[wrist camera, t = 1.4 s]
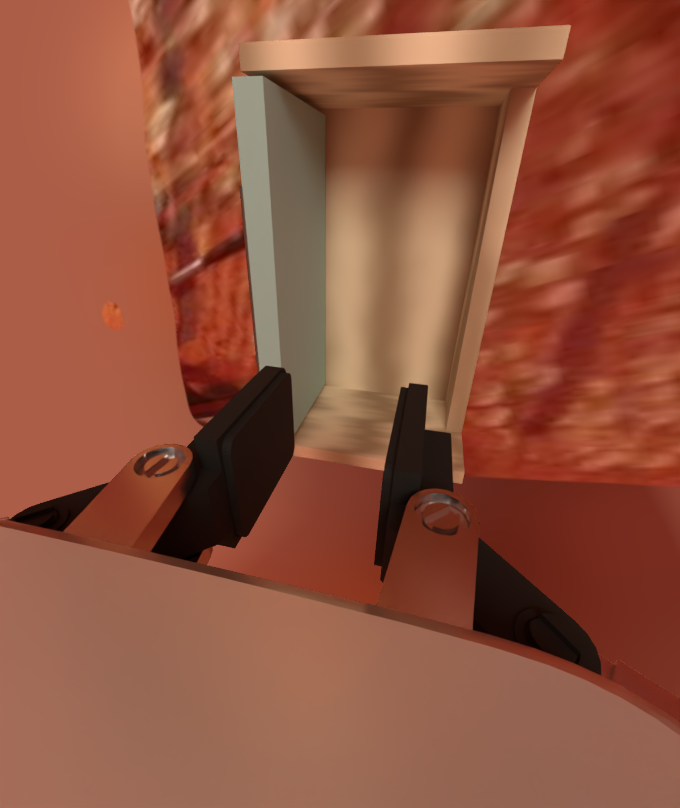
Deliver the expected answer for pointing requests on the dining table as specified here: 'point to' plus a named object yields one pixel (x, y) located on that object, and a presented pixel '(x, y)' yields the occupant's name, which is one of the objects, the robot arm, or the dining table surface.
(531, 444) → the dining table surface
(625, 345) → the dining table surface
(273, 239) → the panel
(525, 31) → the wooden tray crate
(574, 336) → the dining table surface
